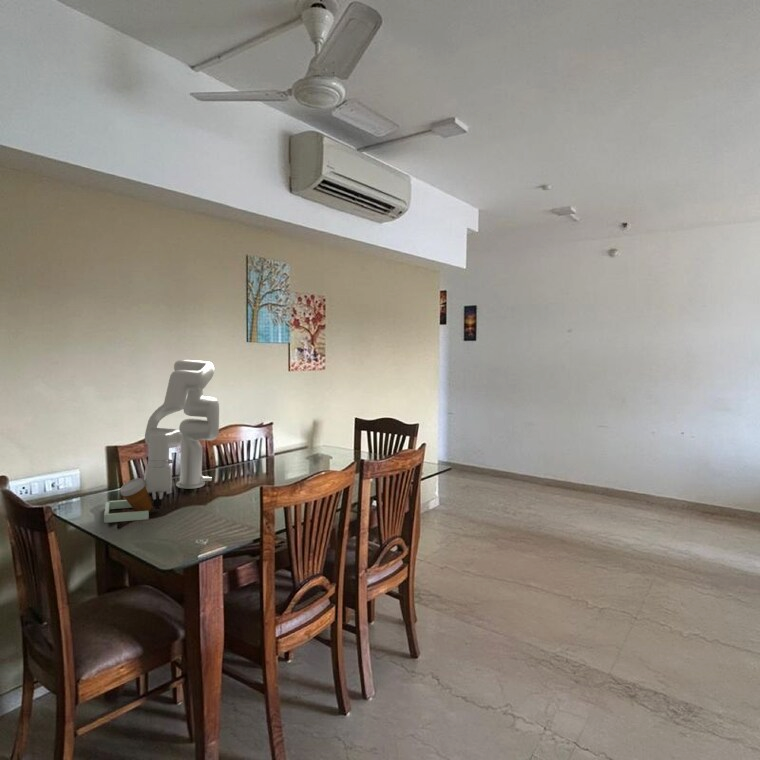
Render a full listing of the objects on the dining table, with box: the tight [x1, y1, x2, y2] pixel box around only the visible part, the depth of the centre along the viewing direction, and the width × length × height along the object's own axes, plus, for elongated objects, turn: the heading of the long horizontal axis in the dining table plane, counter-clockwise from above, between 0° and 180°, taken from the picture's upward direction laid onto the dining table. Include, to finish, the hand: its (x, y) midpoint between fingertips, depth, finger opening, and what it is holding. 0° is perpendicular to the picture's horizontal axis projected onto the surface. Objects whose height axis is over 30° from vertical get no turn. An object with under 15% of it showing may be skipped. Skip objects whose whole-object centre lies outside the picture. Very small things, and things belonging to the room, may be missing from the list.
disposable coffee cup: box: [119, 477, 153, 512], centre depth 205 cm, size 10×10×12 cm
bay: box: [103, 499, 150, 524], centre depth 205 cm, size 15×16×3 cm
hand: (157, 508), depth 209 cm, fingers closed
